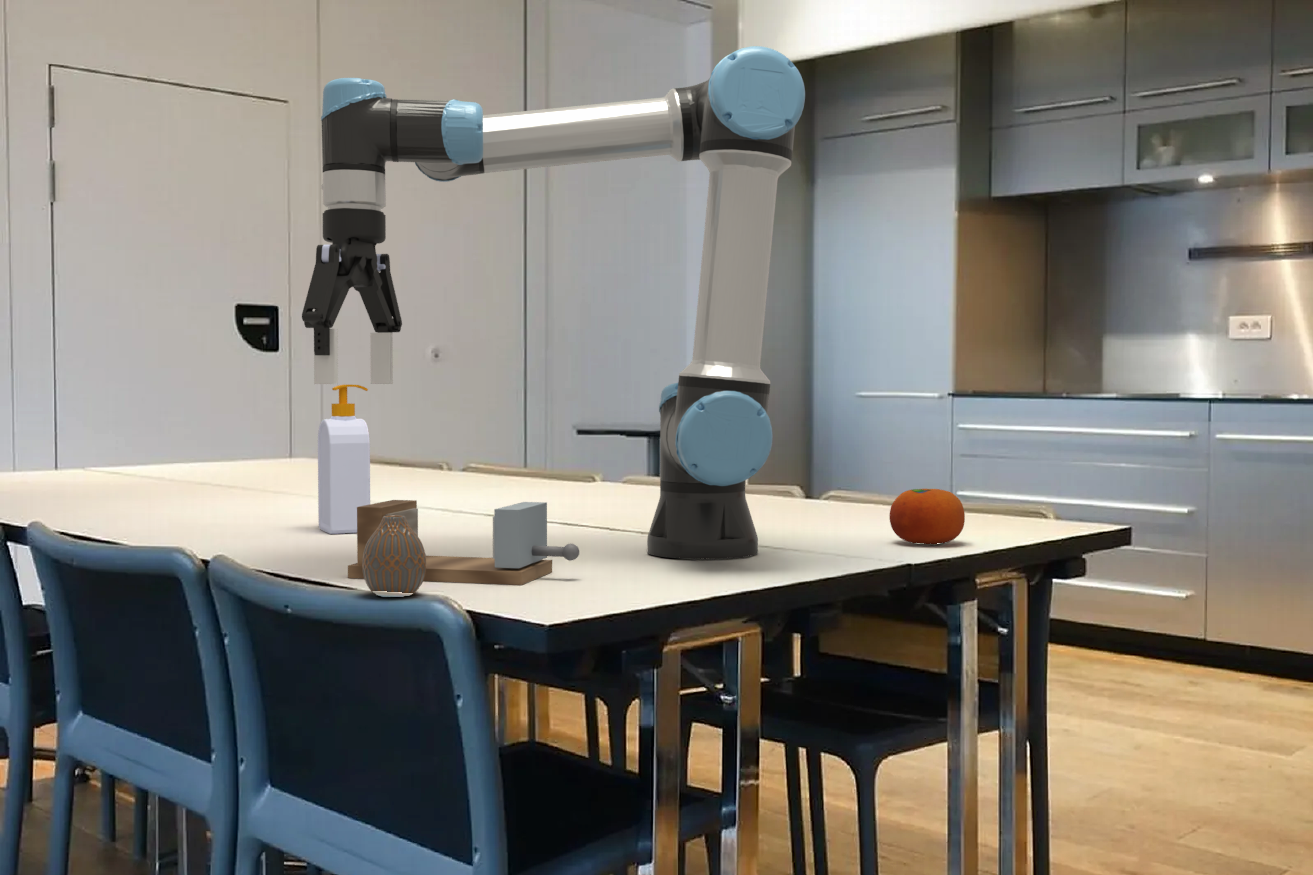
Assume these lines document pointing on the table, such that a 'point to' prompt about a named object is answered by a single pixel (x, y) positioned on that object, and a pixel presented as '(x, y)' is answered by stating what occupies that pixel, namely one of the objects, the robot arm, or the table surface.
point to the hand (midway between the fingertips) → (354, 384)
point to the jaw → (524, 536)
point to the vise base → (440, 565)
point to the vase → (394, 557)
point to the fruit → (927, 516)
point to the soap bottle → (342, 467)
